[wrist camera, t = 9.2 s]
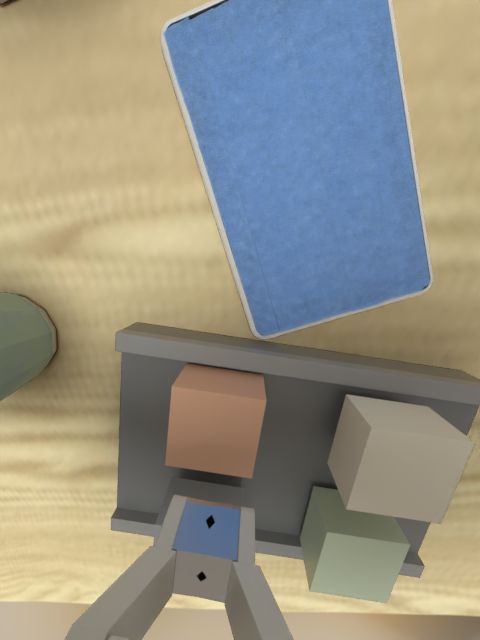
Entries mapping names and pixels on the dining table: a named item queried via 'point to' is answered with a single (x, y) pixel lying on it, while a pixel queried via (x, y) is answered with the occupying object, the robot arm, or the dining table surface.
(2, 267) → the dining table surface
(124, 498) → the keypad base
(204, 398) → the key terracotta
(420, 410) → the key cream
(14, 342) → the disposable coffee cup
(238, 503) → the key slate
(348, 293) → the blue notebook
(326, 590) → the key green
